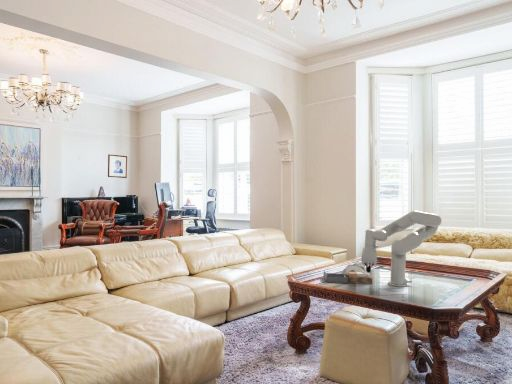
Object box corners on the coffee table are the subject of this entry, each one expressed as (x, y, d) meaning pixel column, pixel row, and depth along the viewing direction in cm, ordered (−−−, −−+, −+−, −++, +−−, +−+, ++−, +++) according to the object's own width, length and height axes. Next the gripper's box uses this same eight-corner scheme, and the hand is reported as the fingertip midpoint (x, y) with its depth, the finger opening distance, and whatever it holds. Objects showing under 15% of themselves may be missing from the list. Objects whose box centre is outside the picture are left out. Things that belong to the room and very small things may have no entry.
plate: (367, 280, 278) (367, 274, 278) (372, 283, 266) (372, 278, 266) (345, 279, 278) (345, 273, 278) (349, 282, 266) (349, 277, 266)
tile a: (361, 275, 275) (361, 272, 275) (363, 276, 269) (363, 274, 269) (355, 274, 275) (355, 272, 275) (357, 276, 269) (357, 273, 269)
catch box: (343, 278, 279) (344, 271, 279) (348, 283, 265) (348, 275, 265) (323, 277, 280) (323, 270, 280) (326, 282, 266) (326, 275, 266)
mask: (372, 261, 309) (364, 267, 282) (371, 272, 309) (364, 279, 282) (347, 258, 318) (338, 264, 291) (347, 269, 318) (337, 275, 291)
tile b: (354, 274, 275) (354, 272, 275) (356, 276, 269) (356, 273, 269) (347, 274, 275) (348, 271, 275) (349, 276, 269) (349, 273, 269)
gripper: (378, 246, 276) (377, 272, 276) (358, 245, 276) (356, 270, 276) (382, 248, 268) (380, 274, 268) (361, 246, 269) (359, 272, 269)
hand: (368, 272), depth 272 cm, fingers closed
